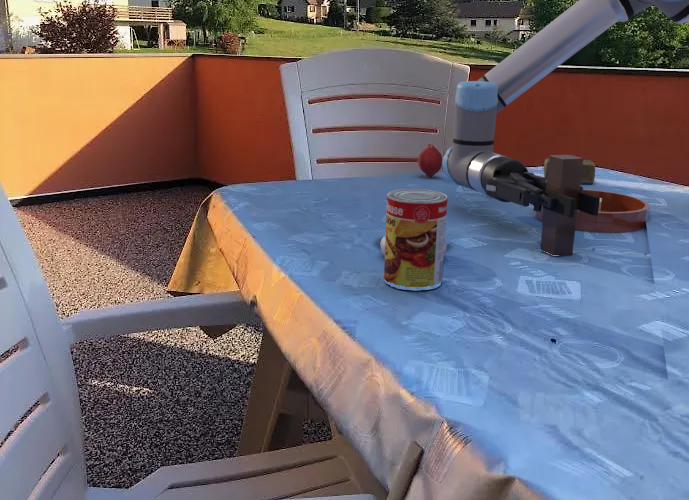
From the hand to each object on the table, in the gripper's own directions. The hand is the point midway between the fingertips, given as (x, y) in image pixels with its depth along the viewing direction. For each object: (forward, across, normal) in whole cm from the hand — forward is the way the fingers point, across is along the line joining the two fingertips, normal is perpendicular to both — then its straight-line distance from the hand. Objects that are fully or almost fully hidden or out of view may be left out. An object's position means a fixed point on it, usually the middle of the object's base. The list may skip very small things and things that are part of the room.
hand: (584, 207), depth 103 cm
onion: (-66, -8, -9) cm, 67 cm away
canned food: (0, +27, -9) cm, 29 cm away
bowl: (-20, -18, -8) cm, 28 cm away
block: (-21, -18, -8) cm, 29 cm away
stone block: (-53, -38, -9) cm, 66 cm away
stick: (-5, 0, -8) cm, 10 cm away
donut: (-10, +22, -9) cm, 26 cm away
